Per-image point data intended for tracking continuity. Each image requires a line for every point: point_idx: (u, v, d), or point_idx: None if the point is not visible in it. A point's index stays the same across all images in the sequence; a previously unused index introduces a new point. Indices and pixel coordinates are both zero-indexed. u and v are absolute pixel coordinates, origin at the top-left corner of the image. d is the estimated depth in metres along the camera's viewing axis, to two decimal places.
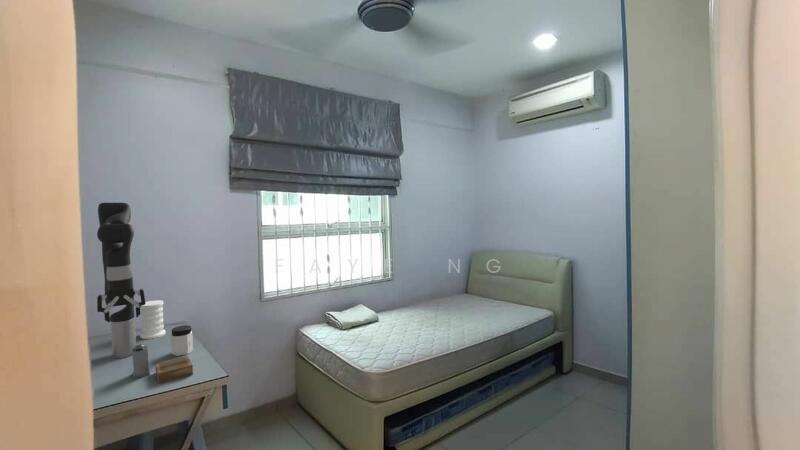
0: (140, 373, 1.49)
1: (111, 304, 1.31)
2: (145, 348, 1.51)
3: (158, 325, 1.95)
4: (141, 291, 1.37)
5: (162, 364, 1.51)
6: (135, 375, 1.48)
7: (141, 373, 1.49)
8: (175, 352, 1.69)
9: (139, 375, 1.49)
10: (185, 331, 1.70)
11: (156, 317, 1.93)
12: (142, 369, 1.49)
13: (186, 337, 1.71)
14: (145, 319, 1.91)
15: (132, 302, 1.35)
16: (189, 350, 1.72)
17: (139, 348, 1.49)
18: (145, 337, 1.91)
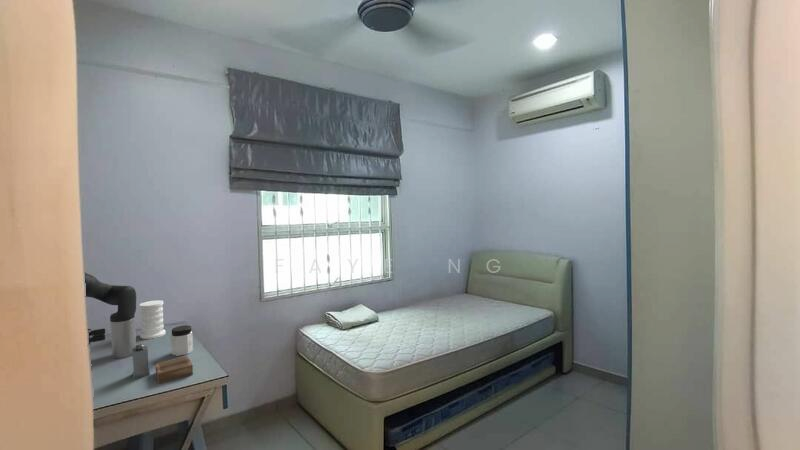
0: (140, 373, 1.49)
1: None
2: (145, 348, 1.51)
3: (158, 325, 1.95)
4: None
5: (162, 364, 1.51)
6: (135, 375, 1.48)
7: (141, 373, 1.49)
8: (175, 352, 1.69)
9: (139, 375, 1.49)
10: (185, 331, 1.70)
11: (156, 317, 1.93)
12: (142, 369, 1.49)
13: (186, 337, 1.71)
14: (145, 319, 1.91)
15: None
16: (189, 350, 1.72)
17: (139, 348, 1.49)
18: (145, 337, 1.91)
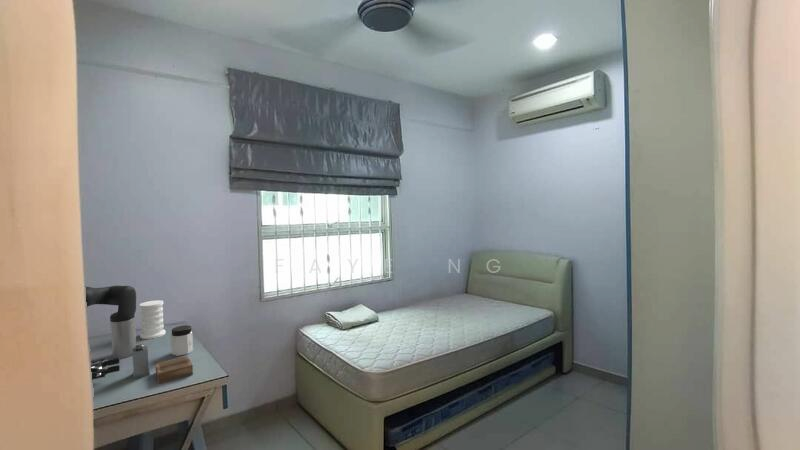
0: (140, 373, 1.49)
1: None
2: (145, 348, 1.51)
3: (158, 325, 1.95)
4: None
5: (162, 364, 1.51)
6: (135, 375, 1.48)
7: (141, 373, 1.49)
8: (175, 352, 1.69)
9: (139, 375, 1.49)
10: (185, 331, 1.70)
11: (156, 317, 1.93)
12: (142, 369, 1.49)
13: (186, 337, 1.71)
14: (145, 319, 1.91)
15: None
16: (189, 350, 1.72)
17: (139, 348, 1.49)
18: (145, 337, 1.91)
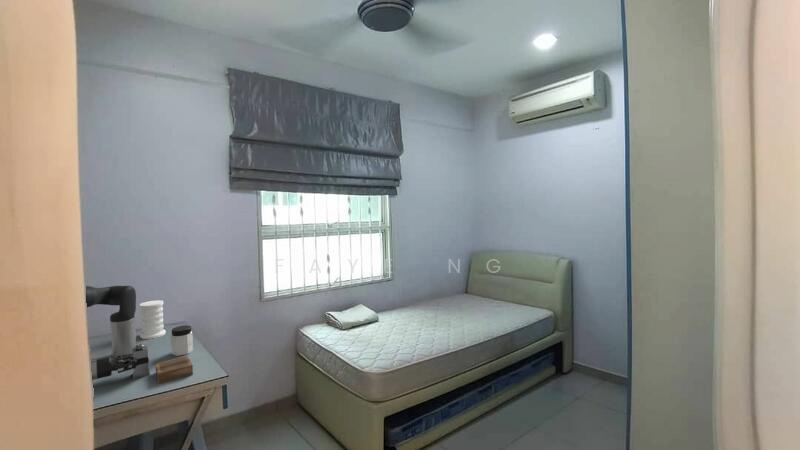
0: (140, 373, 1.49)
1: None
2: (145, 348, 1.51)
3: (158, 325, 1.95)
4: None
5: (162, 364, 1.51)
6: (135, 375, 1.48)
7: (141, 373, 1.49)
8: (175, 352, 1.69)
9: (139, 375, 1.49)
10: (185, 331, 1.70)
11: (156, 317, 1.93)
12: (142, 369, 1.49)
13: (186, 337, 1.71)
14: (145, 319, 1.91)
15: None
16: (189, 350, 1.72)
17: (139, 348, 1.49)
18: (145, 337, 1.91)
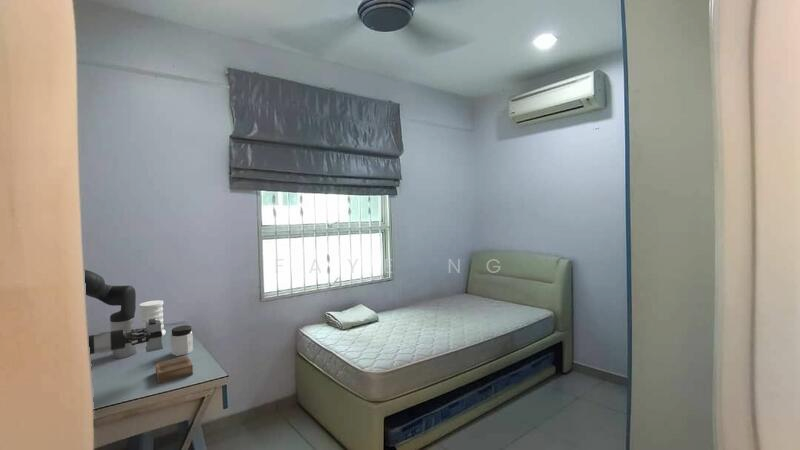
0: (153, 347, 1.48)
1: None
2: (158, 322, 1.50)
3: None
4: None
5: (162, 364, 1.51)
6: (148, 349, 1.47)
7: (154, 347, 1.48)
8: (175, 352, 1.69)
9: (152, 349, 1.47)
10: (185, 331, 1.70)
11: (156, 317, 1.93)
12: (155, 343, 1.48)
13: (186, 337, 1.71)
14: (145, 319, 1.91)
15: None
16: (189, 350, 1.72)
17: (152, 322, 1.48)
18: (145, 337, 1.91)
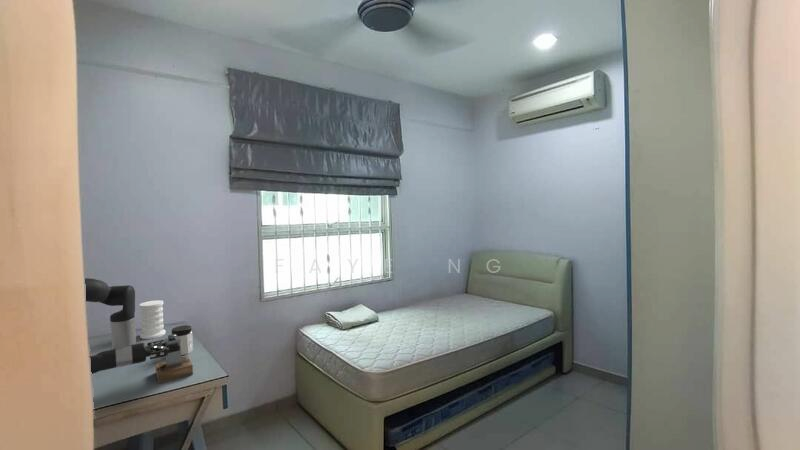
0: (173, 363, 1.49)
1: None
2: (177, 338, 1.51)
3: (158, 325, 1.95)
4: None
5: (162, 364, 1.51)
6: (168, 365, 1.48)
7: (174, 363, 1.49)
8: None
9: (172, 365, 1.49)
10: (185, 331, 1.70)
11: (156, 317, 1.93)
12: (175, 359, 1.50)
13: (186, 337, 1.71)
14: (145, 319, 1.91)
15: None
16: (189, 350, 1.72)
17: (172, 338, 1.50)
18: (145, 337, 1.91)
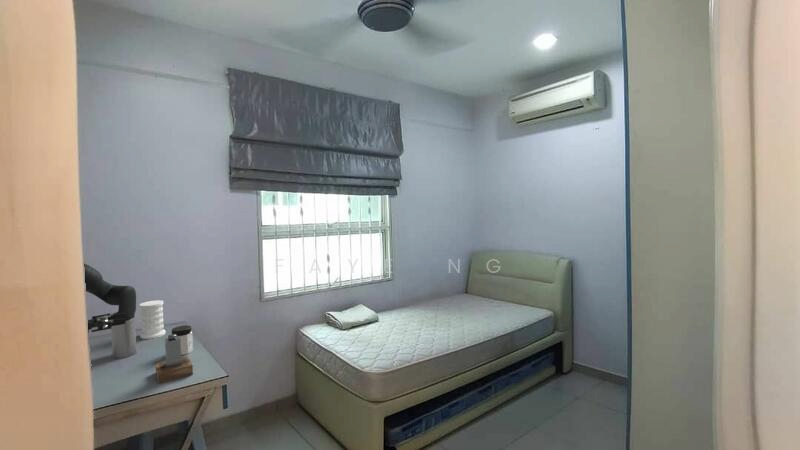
0: (173, 363, 1.49)
1: None
2: (177, 338, 1.51)
3: (158, 325, 1.95)
4: None
5: (162, 364, 1.51)
6: (168, 365, 1.48)
7: (174, 363, 1.49)
8: None
9: (172, 365, 1.49)
10: (185, 331, 1.70)
11: (156, 317, 1.93)
12: (175, 359, 1.50)
13: (186, 337, 1.71)
14: (145, 319, 1.91)
15: None
16: (189, 350, 1.72)
17: (172, 338, 1.50)
18: (145, 337, 1.91)
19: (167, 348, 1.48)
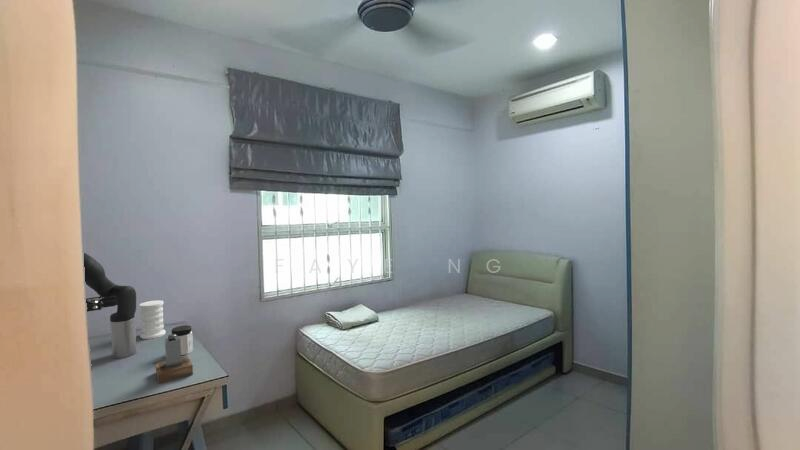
0: (173, 363, 1.49)
1: None
2: (177, 338, 1.51)
3: (158, 325, 1.95)
4: None
5: (162, 364, 1.51)
6: (168, 365, 1.48)
7: (174, 363, 1.49)
8: None
9: (172, 365, 1.49)
10: (185, 331, 1.70)
11: (156, 317, 1.93)
12: (175, 359, 1.50)
13: (186, 337, 1.71)
14: (145, 319, 1.91)
15: None
16: (189, 350, 1.72)
17: (172, 338, 1.50)
18: (145, 337, 1.91)
19: (167, 348, 1.48)
